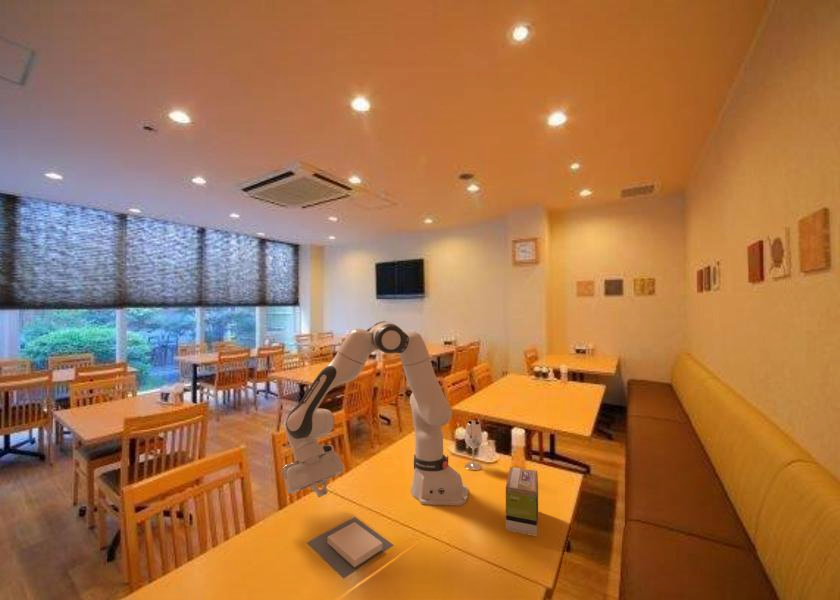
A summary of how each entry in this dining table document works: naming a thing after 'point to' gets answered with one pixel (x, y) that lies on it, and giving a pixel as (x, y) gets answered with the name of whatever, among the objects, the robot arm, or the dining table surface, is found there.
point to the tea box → (522, 501)
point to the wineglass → (473, 441)
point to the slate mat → (334, 557)
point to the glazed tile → (354, 544)
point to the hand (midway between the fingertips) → (323, 495)
